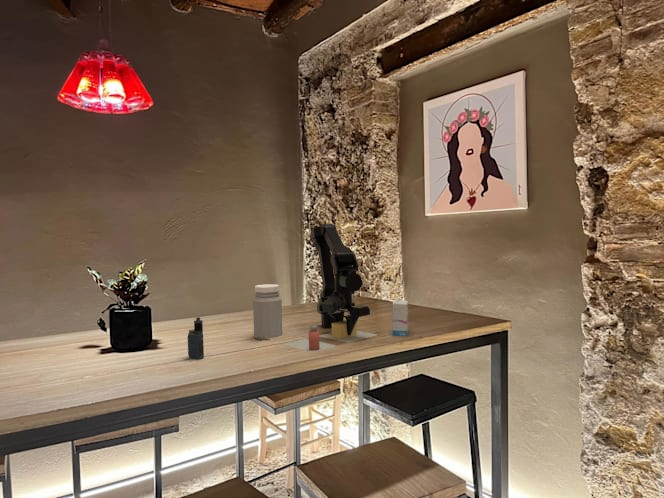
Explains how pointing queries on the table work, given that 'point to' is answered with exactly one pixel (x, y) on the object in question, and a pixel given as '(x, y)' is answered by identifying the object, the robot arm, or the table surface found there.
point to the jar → (267, 312)
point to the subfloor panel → (328, 341)
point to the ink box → (400, 318)
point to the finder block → (342, 329)
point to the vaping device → (196, 340)
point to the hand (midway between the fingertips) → (344, 334)
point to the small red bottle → (314, 338)
